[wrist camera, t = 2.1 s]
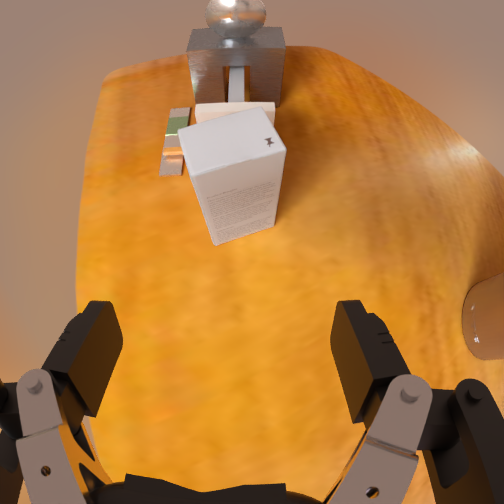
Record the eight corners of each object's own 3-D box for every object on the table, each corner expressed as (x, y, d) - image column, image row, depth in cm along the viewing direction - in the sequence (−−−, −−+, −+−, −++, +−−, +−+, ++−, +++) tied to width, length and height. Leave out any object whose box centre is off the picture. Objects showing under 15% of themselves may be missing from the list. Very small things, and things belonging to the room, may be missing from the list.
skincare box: (258, 190, 30) (264, 103, 18) (274, 227, 28) (290, 150, 17) (200, 208, 29) (175, 127, 18) (213, 247, 28) (190, 179, 16)
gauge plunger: (265, 86, 34) (268, 46, 28) (270, 154, 30) (275, 111, 24) (177, 90, 34) (168, 51, 27) (164, 157, 30) (148, 117, 24)
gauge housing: (276, 82, 35) (285, -16, 21) (285, 173, 30) (308, 54, 16) (176, 85, 35) (156, -9, 20) (159, 177, 30) (111, 67, 16)
